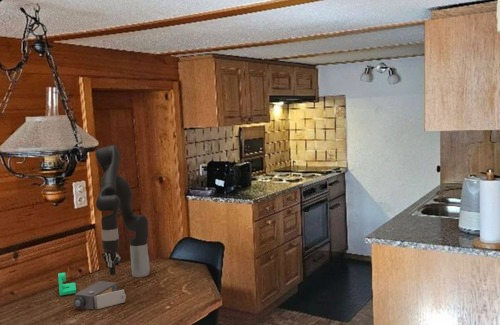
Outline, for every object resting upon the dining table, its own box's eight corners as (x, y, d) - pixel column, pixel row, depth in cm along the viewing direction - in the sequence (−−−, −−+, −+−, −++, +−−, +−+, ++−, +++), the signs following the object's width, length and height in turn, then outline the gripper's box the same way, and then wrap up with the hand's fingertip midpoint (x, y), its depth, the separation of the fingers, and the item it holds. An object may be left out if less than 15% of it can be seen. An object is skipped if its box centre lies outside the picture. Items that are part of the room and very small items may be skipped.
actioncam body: (100, 293, 244) (99, 279, 244) (118, 295, 241) (117, 281, 240) (71, 310, 225) (70, 294, 225) (90, 312, 222) (88, 296, 221)
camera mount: (76, 295, 245) (74, 274, 244) (59, 297, 242) (58, 277, 241) (75, 287, 256) (74, 267, 255) (59, 289, 253) (58, 270, 252)
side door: (124, 301, 233) (123, 289, 232) (126, 302, 231) (125, 290, 230) (94, 309, 225) (93, 296, 224) (96, 310, 223) (95, 297, 222)
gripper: (95, 237, 231) (97, 274, 233) (112, 241, 223) (114, 279, 224) (108, 234, 237) (110, 269, 238) (125, 238, 229) (128, 274, 230)
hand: (112, 274), depth 231 cm, fingers closed
